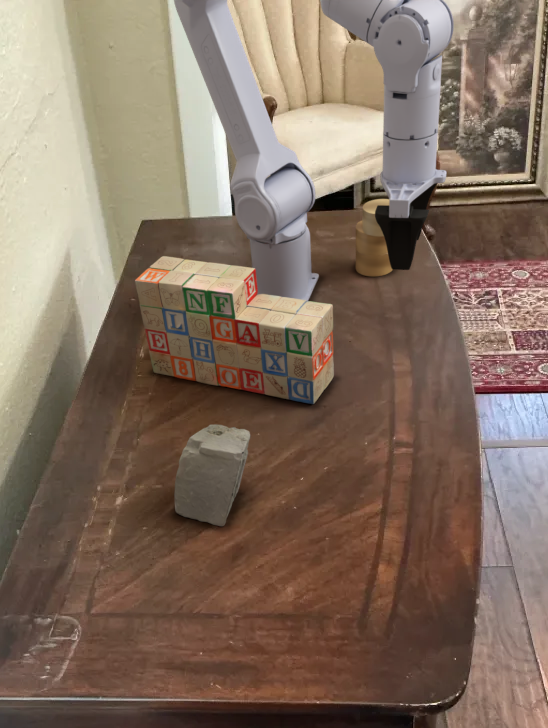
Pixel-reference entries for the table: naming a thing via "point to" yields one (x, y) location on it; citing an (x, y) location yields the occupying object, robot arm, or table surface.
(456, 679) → the table surface
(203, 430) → the mineral specimen
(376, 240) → the pile chip top
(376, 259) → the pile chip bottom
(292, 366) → the stack of blocks
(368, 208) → the tan wooden cylinder
